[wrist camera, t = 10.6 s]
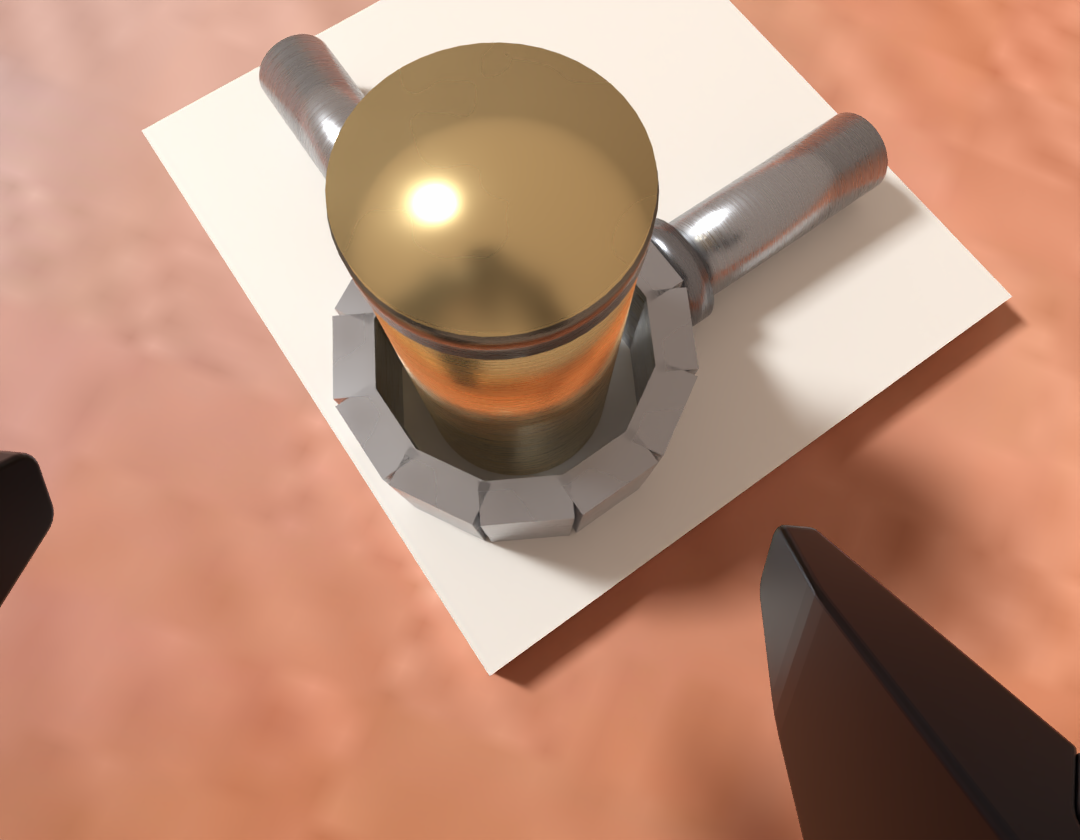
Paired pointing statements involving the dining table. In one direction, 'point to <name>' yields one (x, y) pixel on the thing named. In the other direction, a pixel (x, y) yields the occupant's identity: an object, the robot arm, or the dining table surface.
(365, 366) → the steel cradle
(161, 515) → the dining table surface
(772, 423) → the mounting plate
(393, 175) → the cylinder
